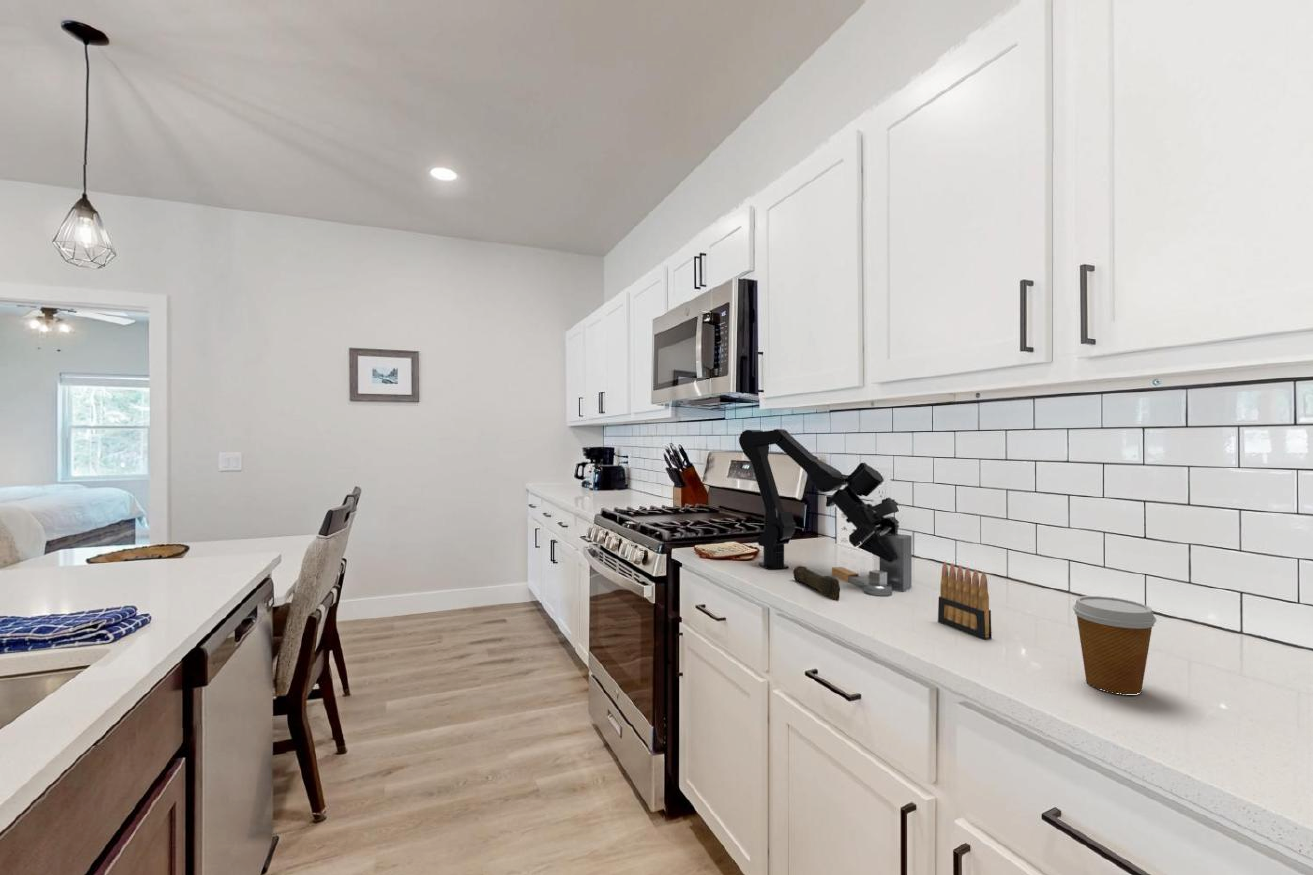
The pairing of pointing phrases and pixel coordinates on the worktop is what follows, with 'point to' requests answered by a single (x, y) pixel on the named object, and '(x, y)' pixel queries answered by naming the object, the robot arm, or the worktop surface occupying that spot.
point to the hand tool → (818, 582)
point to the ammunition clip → (965, 602)
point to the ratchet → (866, 581)
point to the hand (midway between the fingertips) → (899, 558)
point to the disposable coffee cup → (1114, 642)
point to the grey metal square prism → (898, 561)
